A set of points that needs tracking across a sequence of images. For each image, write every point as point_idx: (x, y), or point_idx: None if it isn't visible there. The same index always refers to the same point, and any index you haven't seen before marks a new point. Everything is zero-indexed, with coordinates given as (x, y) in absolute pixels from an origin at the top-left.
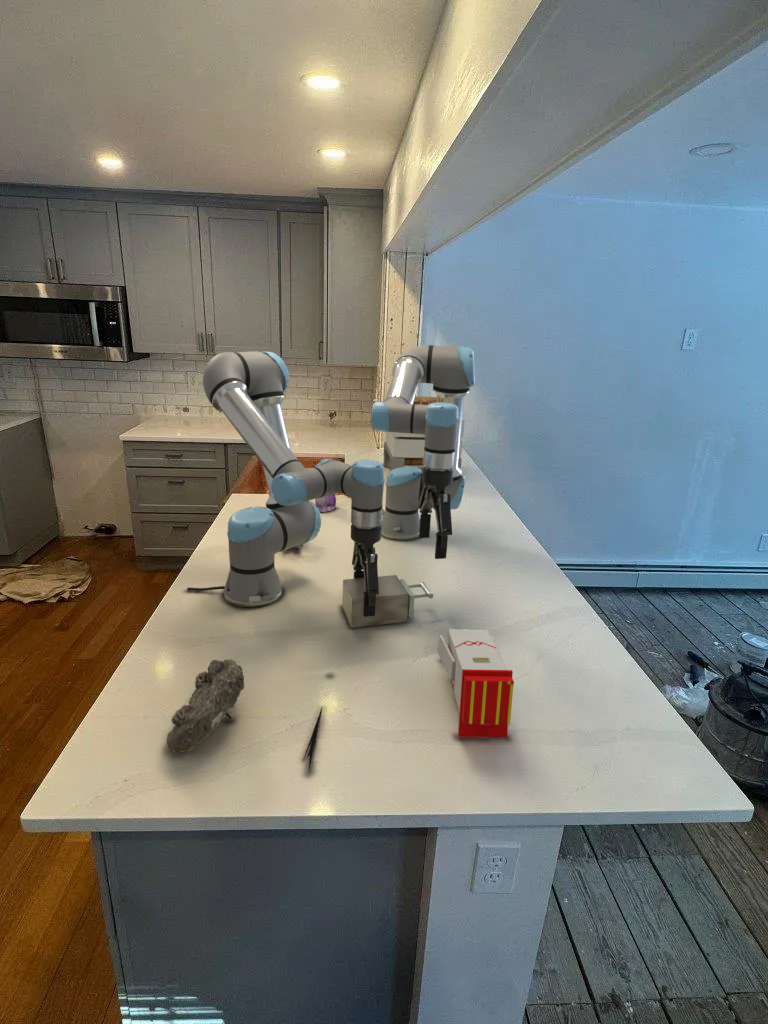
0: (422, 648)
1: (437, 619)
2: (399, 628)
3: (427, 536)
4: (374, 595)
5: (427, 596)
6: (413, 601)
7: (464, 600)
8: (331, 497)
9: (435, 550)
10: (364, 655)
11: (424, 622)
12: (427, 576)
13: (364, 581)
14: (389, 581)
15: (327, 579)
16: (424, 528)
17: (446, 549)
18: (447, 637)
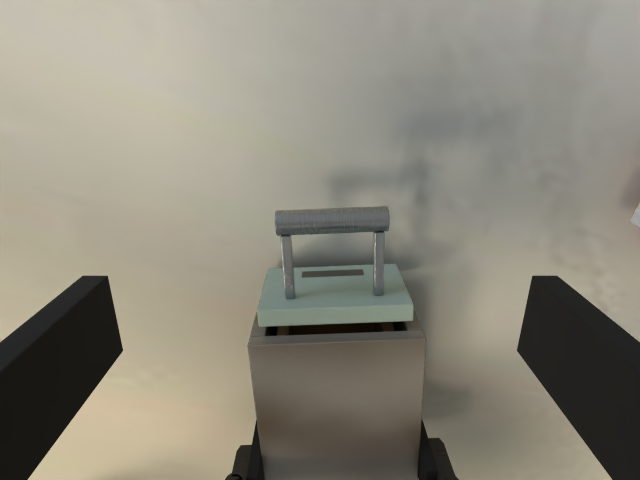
0: (557, 273)
1: (410, 175)
2: (432, 308)
3: (103, 297)
4: (454, 474)
5: (383, 231)
6: (408, 293)
7: (286, 3)
8: None
9: (556, 395)
10: (530, 413)
11: (418, 225)
12: (51, 101)
13: (293, 458)
14: (306, 382)
15: (100, 440)
16: (67, 378)
17: (607, 321)
18: (634, 224)
